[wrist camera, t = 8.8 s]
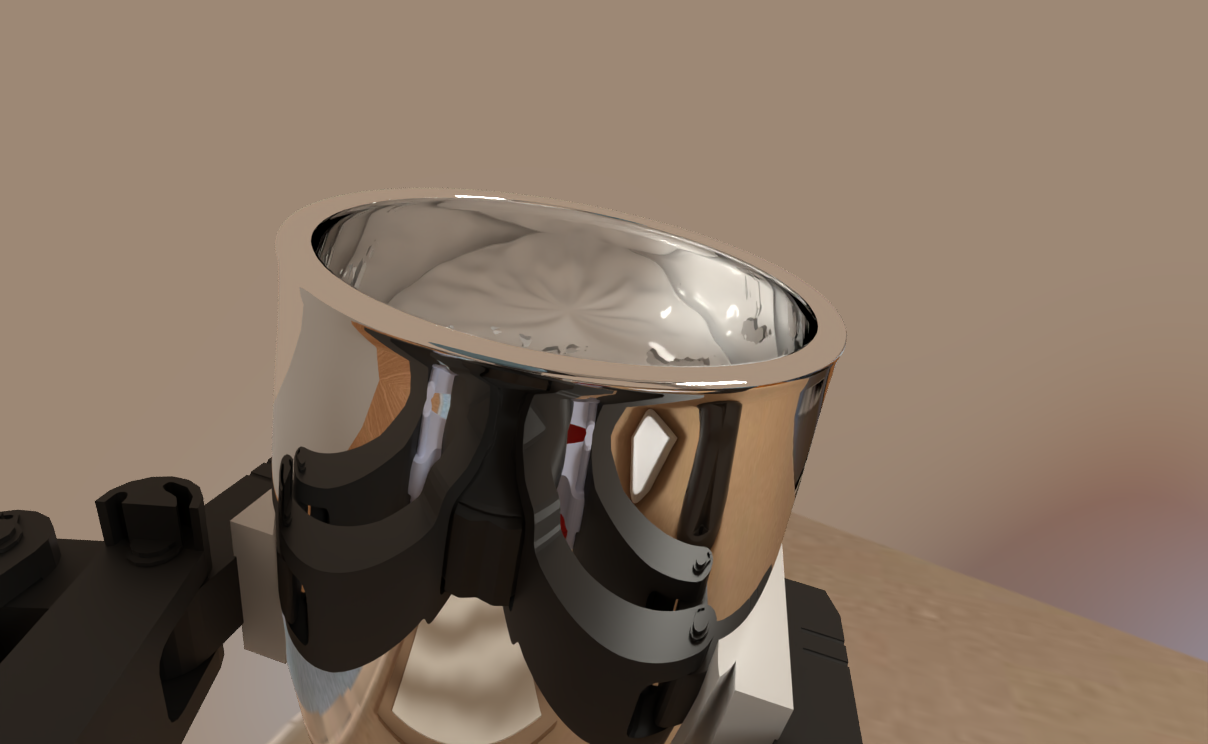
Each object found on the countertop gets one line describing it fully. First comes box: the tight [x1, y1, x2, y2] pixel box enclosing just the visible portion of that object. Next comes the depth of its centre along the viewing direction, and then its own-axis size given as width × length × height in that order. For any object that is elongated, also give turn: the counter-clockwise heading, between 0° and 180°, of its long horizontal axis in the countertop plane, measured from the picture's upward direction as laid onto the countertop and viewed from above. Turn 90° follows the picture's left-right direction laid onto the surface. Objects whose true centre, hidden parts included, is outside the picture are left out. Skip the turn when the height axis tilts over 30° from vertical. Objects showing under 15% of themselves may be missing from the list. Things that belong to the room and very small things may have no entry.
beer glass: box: [271, 188, 847, 744], centre depth 11 cm, size 7×7×15 cm
